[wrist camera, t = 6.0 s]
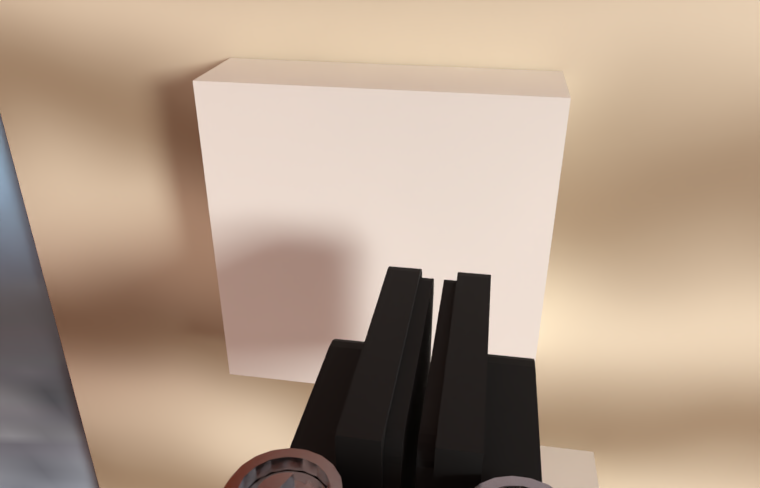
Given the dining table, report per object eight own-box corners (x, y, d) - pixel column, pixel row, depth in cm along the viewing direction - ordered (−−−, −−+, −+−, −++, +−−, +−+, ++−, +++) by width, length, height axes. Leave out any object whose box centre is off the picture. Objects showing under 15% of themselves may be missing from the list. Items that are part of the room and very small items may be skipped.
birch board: (-23, -126, 15) (-63, -127, 14) (988, -127, 12) (1034, -129, 11) (147, 583, 26) (132, 613, 25) (694, 672, 23) (703, 709, 22)
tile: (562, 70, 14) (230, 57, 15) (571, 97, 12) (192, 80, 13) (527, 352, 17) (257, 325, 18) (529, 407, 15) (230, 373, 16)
